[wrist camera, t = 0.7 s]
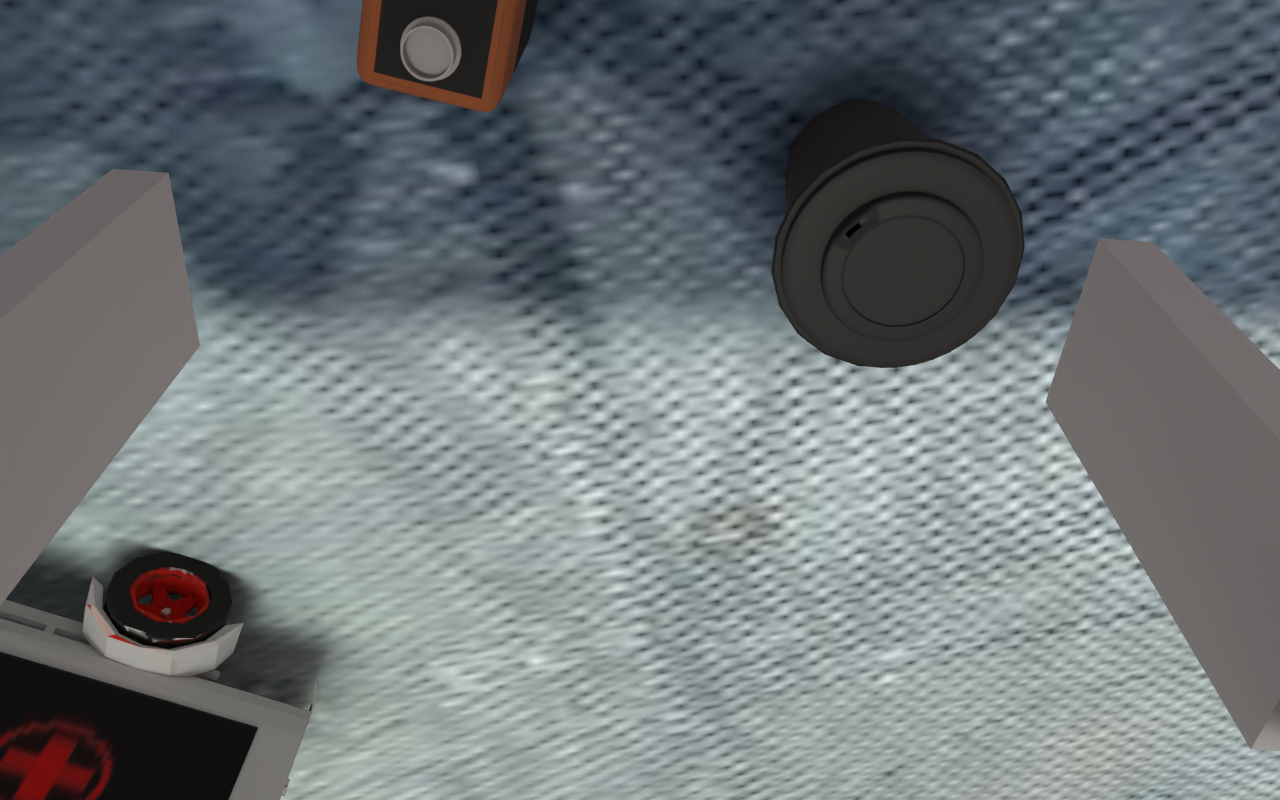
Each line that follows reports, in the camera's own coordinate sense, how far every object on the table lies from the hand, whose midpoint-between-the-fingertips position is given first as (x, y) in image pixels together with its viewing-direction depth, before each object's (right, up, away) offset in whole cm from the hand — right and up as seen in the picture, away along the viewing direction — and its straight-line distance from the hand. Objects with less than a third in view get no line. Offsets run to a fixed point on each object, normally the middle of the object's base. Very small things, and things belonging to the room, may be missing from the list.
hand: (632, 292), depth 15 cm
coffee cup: (+9, +8, +26) cm, 29 cm away
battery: (-5, +15, +22) cm, 27 cm away
